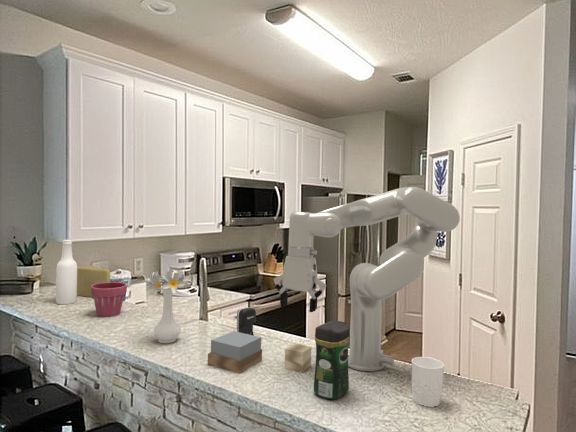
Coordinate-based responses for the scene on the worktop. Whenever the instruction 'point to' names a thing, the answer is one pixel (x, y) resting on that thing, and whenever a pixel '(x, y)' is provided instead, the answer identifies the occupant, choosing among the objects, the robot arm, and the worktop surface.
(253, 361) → the tower base
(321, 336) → the coffee jar
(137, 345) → the worktop surface
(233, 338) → the tower top
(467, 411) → the worktop surface
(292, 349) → the birch cube
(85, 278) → the cheese
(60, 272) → the alcohol
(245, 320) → the battery
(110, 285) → the plant pot
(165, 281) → the flower vase
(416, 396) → the white cup
